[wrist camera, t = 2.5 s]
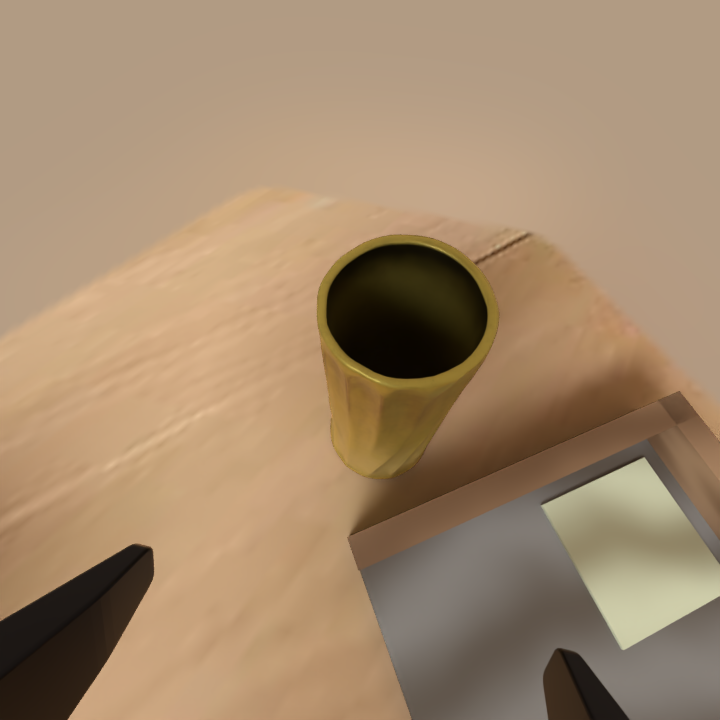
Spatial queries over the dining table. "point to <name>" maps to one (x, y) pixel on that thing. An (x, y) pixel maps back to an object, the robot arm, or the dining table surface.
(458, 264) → the vase
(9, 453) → the dining table surface
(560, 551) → the arena
